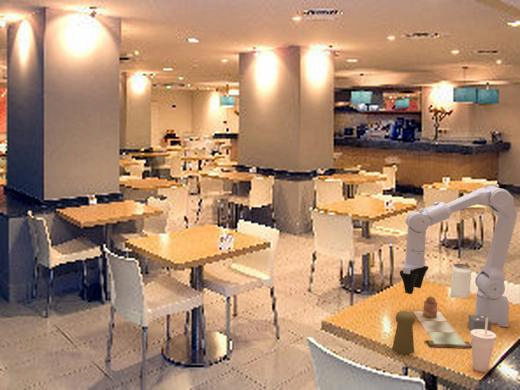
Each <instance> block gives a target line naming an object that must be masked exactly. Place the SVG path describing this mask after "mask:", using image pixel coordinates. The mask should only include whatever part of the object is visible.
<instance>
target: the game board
mask: <svg viewBox="0 0 520 390" xmlns="http://www.w3.org/2000/svg"><path fill="white" fill-rule="evenodd" d="M413 315H414V316H416V317H415V318H417V319H418V321H419V323H420V324H421V325H422V327H423V328H424V330H425V332H427V335H428V336H429V338H430V339H431V340H427V339H426V340H425V343H426V345H428V347H429V348H442V349H443V348H444V349H445V348H446V349H447V348H448V349H468V348H472V343H470V341H464V340H463V338H462V337H461V336H460V335H459V334H458V333H457V331H456V330H455V328H454V327H453V326H452V325H451V324H450V322H449V321H448V320H447V319H446V317H445V316H444V315H443V313H442V312H441V311H437V317H436V318H426V317H424V316H423V311H421V310H413ZM468 350H469V349H468Z"/></svg>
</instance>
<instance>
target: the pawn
mask: <svg viewBox="0 0 520 390" xmlns="http://www.w3.org/2000/svg"><path fill="white" fill-rule="evenodd" d="M422 309H423V316H424V317H426V318H436V317H437V312H438V302H437V300H436V299H435V297H433V296H428V297H427V298H426V300H424V301H423V308H422Z"/></svg>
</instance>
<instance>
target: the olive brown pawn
mask: <svg viewBox="0 0 520 390" xmlns="http://www.w3.org/2000/svg"><path fill="white" fill-rule="evenodd" d="M415 320H416V317H415V314H414V313H412V312H410V311H407V310H400V311H398V312H397V313H396V316H395V321H396V323H397V324H396V327H395V333H394V334H395V335H394V339H393V344H392V351H393V352H395V353H396V354H401V355H412V354H414V353H415V344H414V342H415V341H414V330H413V329H414V328H413V325H414V324H415Z"/></svg>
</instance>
